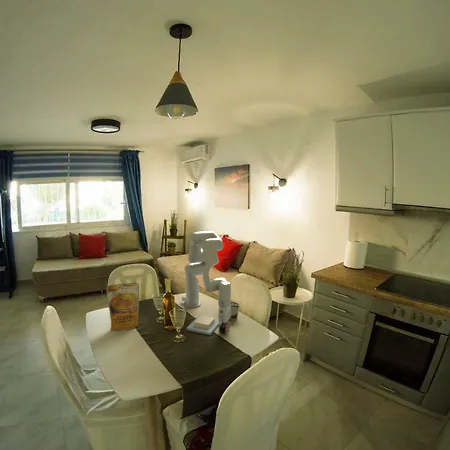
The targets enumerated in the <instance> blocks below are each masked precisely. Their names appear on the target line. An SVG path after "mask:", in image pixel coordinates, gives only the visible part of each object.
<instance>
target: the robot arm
mask: <svg viewBox="0 0 450 450" xmlns="http://www.w3.org/2000/svg"><path fill="white" fill-rule="evenodd" d="M188 243H189V248H188V249H189V250H188V256H187V257H188V258H187V260H188V262H189V263H187V264H186V265H185V266H184V273H185V296H182V297H181V301H183V306H184V307H186V308H188V309H189V308H190V309H191V308H195V309H196V308H198V307H200V306H201V305H202V302H201V301H200V282H199V279H198V277H197V276H201V275H202V281H203V285H204V288H205V290H206V291H207V292H208V293H213V292H218V296H217V297H218V300H217V302H218V304H217V305H218V314H217V315H218V317H217V319H218V320H219V325H220V333H219V334H222V333H225V323H227V321H230V320H231V319H230V317H231V301H232V284H231V282H230V281H228V280H227V279H226V278H225V277H217V278H210V270H211V269H212V268H213V267H215V266H216V265H217V264H219V262H220V260H219V256H218V252H219V251H222V250H223V249H224V242H223V240H222V238H221V237H220V236H219V235H218V234H217V233H216V232H214V231H211V230H208V231H207V230H206V231H195V232H194V231H193V232H191V233H190V234H189V236H188ZM217 251H218V252H217ZM222 323H223V324H222Z"/></svg>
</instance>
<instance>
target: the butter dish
mask: <svg viewBox="0 0 450 450" xmlns="http://www.w3.org/2000/svg"><path fill="white" fill-rule="evenodd" d="M217 328H219V320H218V318H215V317H214V316H213V317H212V316H206V315H203V314H202V315H201V314H200V315H198V316H197V317H196V318H195V319H194V320H193V321H192V322H191V323H190V324H189V325H188V326H187V327H186V331H189V332H194V333H199V334H204V335H206V336H207V335H208V336H211V335H212V334H213V333H214V331H216V330H217Z"/></svg>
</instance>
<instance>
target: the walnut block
mask: <svg viewBox="0 0 450 450" xmlns="http://www.w3.org/2000/svg"><path fill="white" fill-rule="evenodd" d="M222 324H223V323H222ZM229 332H230V320H229V321H227V323H225V333H220V325H219V326H218V334H222V335H227V334H229Z"/></svg>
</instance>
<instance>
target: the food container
mask: <svg viewBox="0 0 450 450" xmlns="http://www.w3.org/2000/svg"><path fill="white" fill-rule="evenodd" d="M239 309H240V305H239V303H238V302H236V301H232V300H231V317H230V319H229V320H238V316H239V315H238V314H239Z"/></svg>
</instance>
